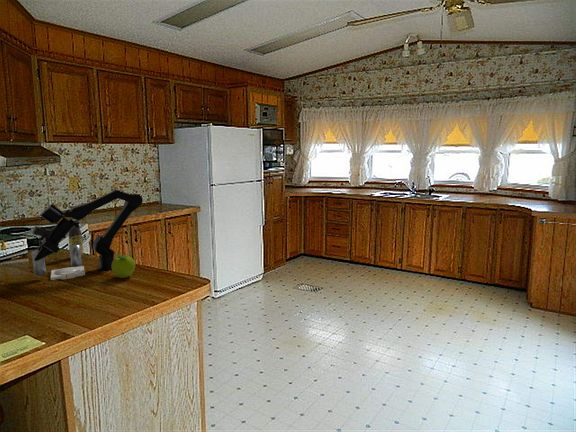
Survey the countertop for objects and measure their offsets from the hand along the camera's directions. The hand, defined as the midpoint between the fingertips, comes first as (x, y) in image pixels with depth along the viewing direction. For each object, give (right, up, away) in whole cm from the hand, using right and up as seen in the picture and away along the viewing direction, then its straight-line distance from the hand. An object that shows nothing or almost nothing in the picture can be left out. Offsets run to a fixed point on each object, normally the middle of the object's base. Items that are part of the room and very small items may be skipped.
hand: (34, 259), depth 170 cm
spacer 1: (+1, -6, +2) cm, 7 cm away
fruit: (+37, -8, +3) cm, 38 cm away
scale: (+9, -8, +9) cm, 15 cm away
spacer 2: (+6, -6, +23) cm, 25 cm away
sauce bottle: (-3, -3, +40) cm, 40 cm away
